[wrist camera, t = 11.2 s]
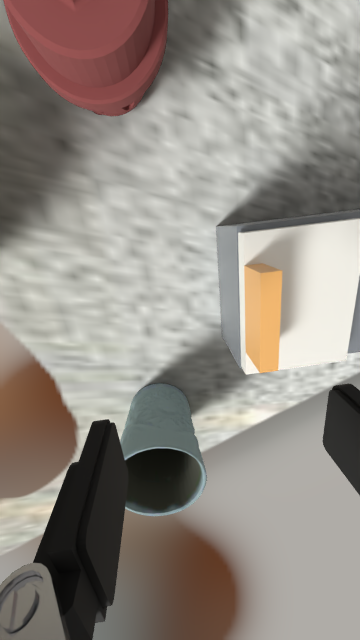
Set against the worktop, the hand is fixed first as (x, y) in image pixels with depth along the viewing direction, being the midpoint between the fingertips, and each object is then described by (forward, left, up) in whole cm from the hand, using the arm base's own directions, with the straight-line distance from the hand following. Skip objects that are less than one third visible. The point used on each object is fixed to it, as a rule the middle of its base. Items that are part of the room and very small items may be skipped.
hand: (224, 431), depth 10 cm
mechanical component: (+4, -21, -23) cm, 31 cm away
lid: (-10, 0, -14) cm, 17 cm away
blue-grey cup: (+5, +17, -23) cm, 29 cm away
